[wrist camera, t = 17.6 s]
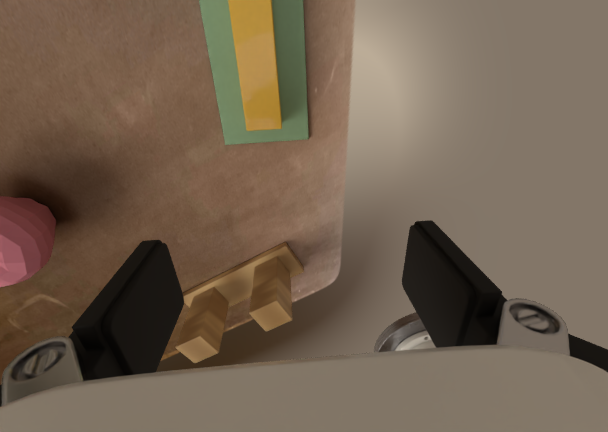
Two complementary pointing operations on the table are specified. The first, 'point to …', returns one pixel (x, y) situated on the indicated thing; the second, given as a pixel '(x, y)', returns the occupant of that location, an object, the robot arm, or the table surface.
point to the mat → (288, 65)
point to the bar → (256, 62)
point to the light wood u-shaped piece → (239, 300)
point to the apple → (24, 238)
